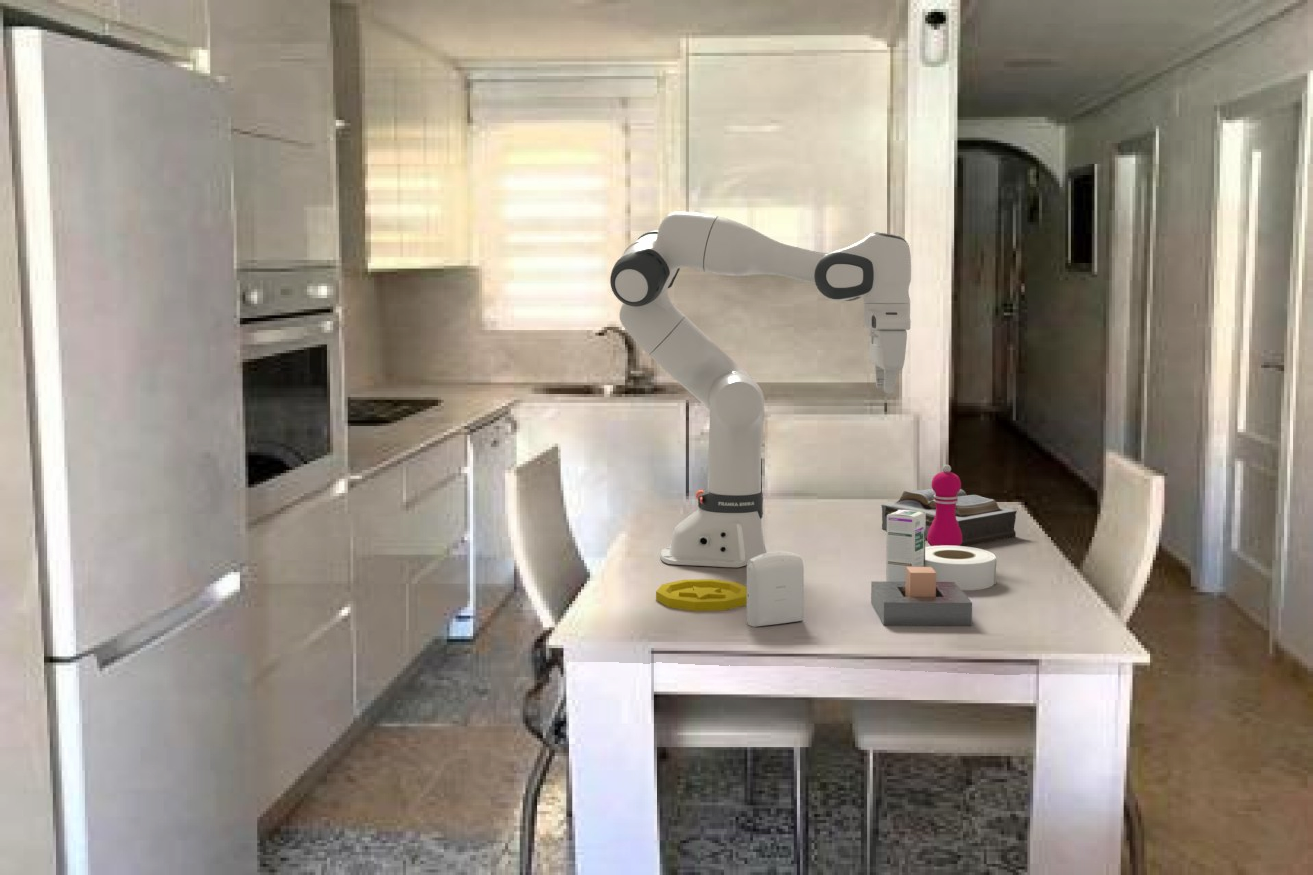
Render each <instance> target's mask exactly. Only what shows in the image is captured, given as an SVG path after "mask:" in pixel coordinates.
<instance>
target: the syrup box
mask: <svg viewBox="0 0 1313 875" xmlns="http://www.w3.org/2000/svg"><path fill="white" fill-rule="evenodd" d="M925 523H926V513H925V512H921V511H915V510H898V511H896V512H894V513H891V514H888V515H887V530H886V555H885V556H886V563H885V565H886V567H885V568H886V574H885V575H886V576H885V577H886V578H885V579H886V580H885V582H906V567H925V547H926V539H925Z"/></svg>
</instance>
